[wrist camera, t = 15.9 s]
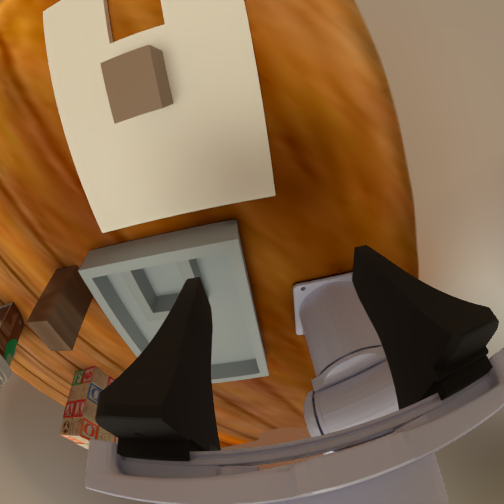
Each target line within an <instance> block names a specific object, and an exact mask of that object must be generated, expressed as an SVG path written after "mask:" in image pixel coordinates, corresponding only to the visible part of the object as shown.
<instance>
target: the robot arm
mask: <svg viewBox="0 0 504 504" xmlns="http://www.w3.org/2000/svg"><path fill="white" fill-rule="evenodd" d="M302 287H304V288H302ZM293 300H294V314H295V329H296V334H297V335H302V334H304V335H305V338H306V342H307V345H308V349H309V352H310V356H311V359H312V363H313V367H314V370H315V374H316V378H314V379H312V380H311V381H312V384H313V388H314V390H313V391H310V392H309V393H308V394H307V396H306V400H305V402H304V416H305V421H306V425H307V428H308V431H309V433H310V435H311V438H307V439H302V440H297V441H292V442H287V443H281V444H275V445H268V446H261V447H253V448H244V449H234V450H221V449H220V443H219V438H218V432H217V426H216V418H215V411H214V402H213V393H212V381H211V355H212V333H213V324H212V310H211V305H210V303H209V300H208V297H207V295H206V292H205V289H204V287H203V284H202V281H201V278H200V277H196V278H190V279H187V280H186V281H185V283H184V285H183V287H182V289H181V291H180V293H179V295H178V297H177V299H176V301H175V303H174V305H173V306H172V308H171V310H170V312H169V314H168V315H167V317H166V319H165V320H164V322H163V324H162V325H161V327H160V329H159V330H158V332H157V333H156V335H155V336H154V337H153V339H152V340H151V342H150V343H149V344H148V346H147V347H146V348H145V349H144V351H143V352H142V353H141V354H140V355H139V356H138V358H137V359H136V360H135V361H134V362H133V363H132V364H131V365H130V366H129V367H128V368H127V369H126V370H125V371H124V372H123V373H122V374H121V375H120V376H119V377H118V378H117V379H116V380H114V381H113V382H112V383H111V384H110V385H108V386H107V387H106V388H105V389H104V390H102V391H101V392H100V395H99V399H98V404H97V410H96V416H95V421H96V423H97V424H98V425H99V426H100V427H102V428H103V429H105V430H106V431H108V432H109V433H111V434H113V435H114V436H116V437H118V444H117V443H114V442H110V441H103V440H97V439H90V441H89V448H88V457H87V467H86V478H85V487H86V488H87V489H91V490H94V491H98V492H101V493H105V494H109V495H113V496H118V497H122V498H127V499H132V500H138V501H144V502H150V503H158V504H449V500H448V496H447V493H446V489H445V486H444V482H443V479H442V476H441V472H440V469H439V466H438V463H437V460H436V457H435V454H434V452H436V451H438V450H440V449H441V448H443V447H445V446H447V445H448V444H450V443H452V442H453V441H455V440H457V439H458V438H460V437H462V436H463V435H464V434H466V433H468V432H469V431H471V430H472V429H474V428H475V427H477V426H478V425H480V424H481V423H482V422H484V421H485V420H486V419H488V418H489V417H491V416H492V415H493V414H494V413H496V412H497V411H498V410H500V409H501V408H502V407H503V406H504V348H503V349H501V350H500V351H499V352H497V353H496V354H494V355H493V356H492V357H491V358H490V359H488V357H487V356H486V354H488V349H487V348H486V345H487V343H488V342H489V341H490V339H491V338H492V336H493V335H494V333H495V332H496V330H497V328H498V323H499V321H498V319H497V318H496V316H495V315H494V314H493V312H492V311H491V309H490V308H489V307H485V306H481V305H477V304H473V303H470V302H467V301H464V300H461V299H458V298H456V297H453V296H451V295H448V294H446V293H443V292H441V291H439V290H437V289H435V288H433V287H431V286H429V285H427V284H425V283H424V282H422V281H420V280H418V279H417V278H415V277H413V276H412V275H410V274H409V273H407V272H405V271H404V270H402V269H401V268H399V267H398V266H396V265H395V264H393V263H392V262H391V261H389V260H388V259H386V258H385V257H383V256H382V255H380V254H379V253H378V252H376V251H375V250H373V249H372V248H370V247H369V246H367V245H365V246H360V247H355V252H354V263H353V272H351V273H347V274H342V275H337V276H333V277H328V278H323V279H318V280H314V281H309V282H304V283H299V284H295V285H294V286H293ZM322 453H323V454H324V455H322V456H318V457H315V458H311V459H307V460H304V461H301V462H298V463H294V464H290V465H285V466H281V467H275V468H270V469H265V470H259V467H257V466H254V465H261V464H269V463H277V462H282V461H289V460H294V459H299V458H304V457H309V456H313V455H318V454H322Z"/></svg>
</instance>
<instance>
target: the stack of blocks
mask: <svg viewBox="0 0 504 504" xmlns="http://www.w3.org/2000/svg"><path fill="white" fill-rule="evenodd" d="M114 380H115V379H113V378H112V377H110V376H109V375H107V374H106V373H104V372H103V371H102V370H100V369H99V368H97V367H96V366H94V367H90V368H87V369H84V370H80V371H77V372H75V375H74V378H73V382H72V387H71V390H70V393H69V397H68V400H67V403H66V407H65V411H64V415H63V422H62V426H61V430H60V435H62V436H64V437H66V438H68V439H70V440H72V441H73V442H76V444H78V445H80V446H82V447H84V448H86V449H88V448H89V441H90V439H97V440H103V441H110V442H114V443H117V444H118V437H116V436H114V435H113V434H111V433H109V432H108V431H106V430H105V429H103V428H102V427H100V426H99V425H98V424H97V423H96V421H95V416H96V410H97V404H98V399H99V395H100V392H101V391H102V390H104V389H105V388H106V387H107V386H108V385H110V384H111V383H112V382H113V381H114Z"/></svg>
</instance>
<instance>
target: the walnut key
mask: <svg viewBox="0 0 504 504" xmlns="http://www.w3.org/2000/svg"><path fill="white" fill-rule="evenodd" d="M78 270H79V268H78V266H77V265H74V266H70V267H65V268H61V269H57V270H56V271H55V273H54V275H53V276H52V278H51V280H50V281H49V283H48V285H47V286H46V288H45V290H44V291H43V293H42V295H41V297H40V298H39V300H38V302H37V304H36V306H35V307H34V309H33V311H32V313H31V315H30V317H29V319H28V321H27V323H28V324H29V326H30V327H31V328H32V329H33V330H34V332H35V333H36V334H37V335H38V336H39V338H40V339H41V340H42V341H43V342H44V343H45V344H46V346H47V347H48V348H49V349H50V350H51V351H72V350H73V347H74V344H75V341H76V338H77V336H78V333H79V330H80V328H81V325H82V322H83V320H84V317H85V315H86V312H87V310H88V307H89V305H90V303H91V300H92V298H93V295H92V293H91V291H90V290H89V288H88V287H87V285H86V283H85V282H84V280H83V278H82V277H81V275H80V273H79V272H78Z"/></svg>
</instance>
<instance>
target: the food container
mask: <svg viewBox="0 0 504 504" xmlns="http://www.w3.org/2000/svg"><path fill="white" fill-rule="evenodd" d="M23 326H24V321H23V318H22V316H21V313H20V312H19V310H18V308H17V307H16V306H15V304H14V303H13V302H12V303H9V304H6V305H3V306H0V385H4V383H6V382H7V380H8V379H9V378H10V376H11V374H12V371H11V369H10V367H9V366H10V363H11V360H12V357H13V354H14V351H15V348H16V345H17V342H18V340H19V337H20V334H21V332H22V329H23Z"/></svg>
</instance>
